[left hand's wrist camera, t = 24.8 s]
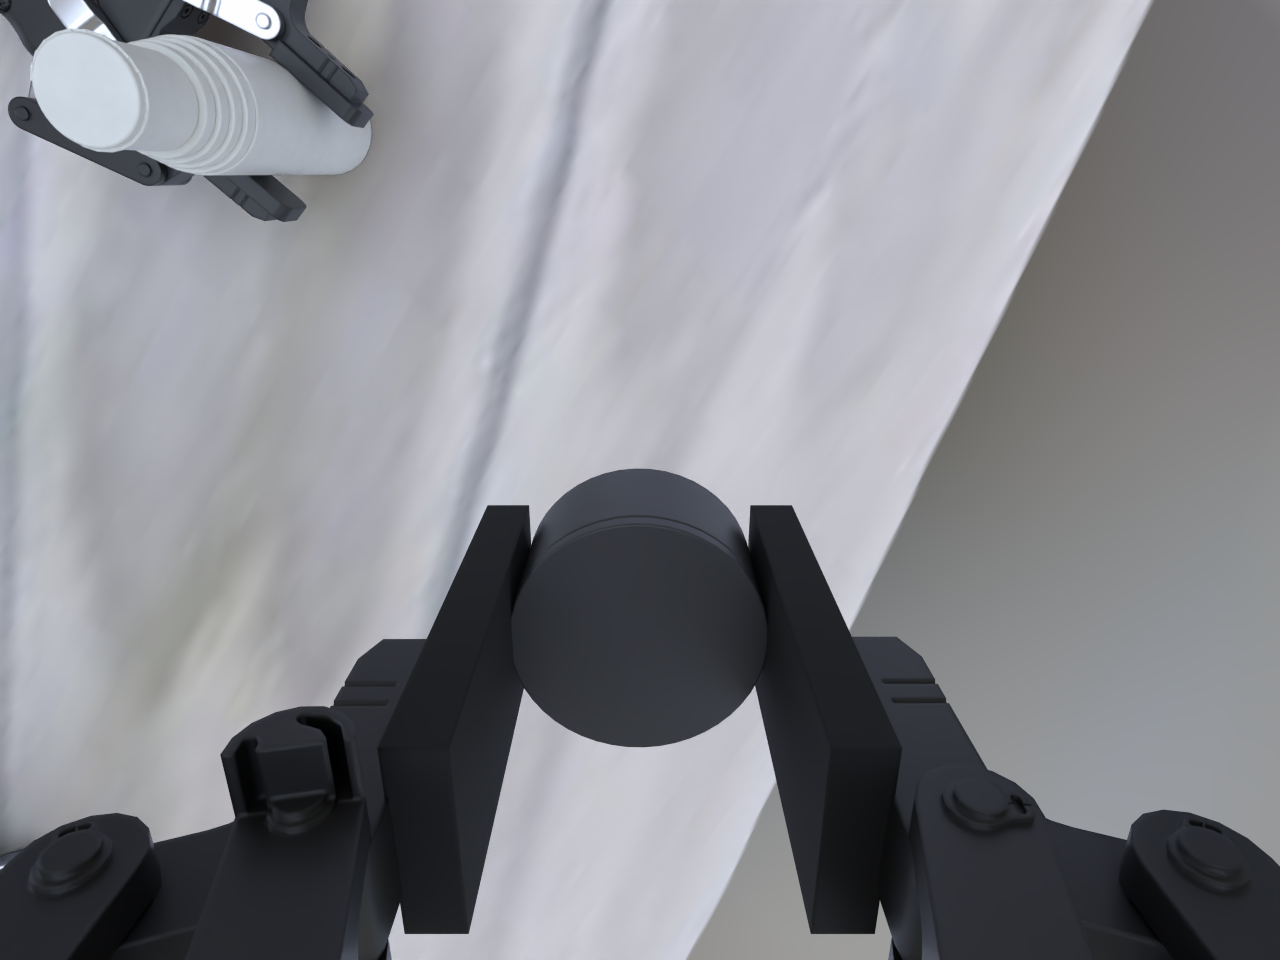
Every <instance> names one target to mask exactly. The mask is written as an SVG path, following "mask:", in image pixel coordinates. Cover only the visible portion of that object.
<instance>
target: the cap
mask: <svg viewBox="0 0 1280 960" xmlns="http://www.w3.org/2000/svg"><path fill="white" fill-rule="evenodd" d="M511 628H512V643H513V657H514V667H515V670H516V673H517V675H518V677H519V679H520V681H521V683H522V685H523V687H524V688H525V690H526V691H527V693H528V694H529V695H530V697H531V698H532V700H533V701H534V702H535V703H536V704H537V705H538V706H539V707H540V708H541V709H542V710H543V711H544V712H545V713H546V714H547V715H549V716H550V717H551V718H552V719H553V720H555V721H556V722H558V723H559V724H561V725H562V726H564V727H565V728H567V729H569V730H571V731H573V732H575V733H577V734H579V735H581V736H584V737H586V738H589V739H592V740H595V741H598V742H602V743H606V744H611V745H617V746H625V747H652V746H662V745H667V744H672V743H676V742H680V741H683V740H686V739H689V738H692V737H694V736H697V735H699V734H701V733H703V732H705V731H707V730H709V729H711V728H712V727H714V726H716V725H718V724H719V723H720V722H722V721H723V720H724V719H726V718H727V717H728V716H730V715H731V714H732V713H733V712H734V711H735V710H736V709H737V708H738V707H739V706H740V705H741V704H742V703H743V701H744V700H745V699H746V698H747V696H748V695H749V694H750V692H751V691H752V689H753V687H754V686H755V684H756V682H757V681H758V679H759V676H760V674H761V671H762V669H763V667H764V663H765V659H766V652H767V638H768V621H767V616H766V611H765V607H764V603H763V600H762V596H761V593H760V589H759V585H758V582H757V578H756V575H755V571H754V567H753V564H752V560H751V557H750V553H749V549H748V546H747V542H746V540H745V537H744V534H743V532H742V529H741V527H740V526H739V524H738V522H737V520H736V518H735V517H734V516H733V514H732V513H731V512H730V510H729V509H728V508H727V507H726V506H725V505H724V504H723V503H722V502H721V500H720V499H719V498H718V497H716V496H715V495H714V494H712V493H711V492H710V491H709V490H707V489H706V488H704V487H702V486H701V485H699V484H697V483H696V482H694V481H692V480H689V479H687V478H685V477H682V476H680V475H676V474H673V473H669V472H666V471H660V470H653V469H626V470H618V471H613V472H609V473H605V474H602V475H599V476H596V477H594V478H591V479H589V480H587V481H585V482H583V483H581V484H579V485H577V486H576V487H574V488H573V489H571V490H570V491H568V492H567V493H566V494H565V495H563V496H562V497H561V498H560V499H559V500H558V501H557V502H556V503H555V504H554V505H553V506H552V507H551V509H550V510H549V511H548V512H547V513H546V515H545V516H544V518H543V520H542V521H541V523H540V525H539V527H538V529H537V531H536V533H535V536H534V538H533V541H532V545H531V548H530V551H529V555H528V558H527V561H526V565H525V568H524V571H523V575H522V578H521V581H520V584H519V588H518V591H517V594H516V598H515V601H514V604H513V608H512V612H511Z"/></svg>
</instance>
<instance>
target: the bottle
mask: <svg viewBox="0 0 1280 960" xmlns="http://www.w3.org/2000/svg"><path fill="white" fill-rule="evenodd" d="M30 80H31V81H32V83H33V89H34V93H35V97H36V99H37V102H38V104H39V106H40V108H41V110H42V112H43V113H44V115H45V116H46V118H47V119H48V120H49V122H50V123H51V124H52V125H53V126H54V127H55V128H56V129H57V130H58V131H59V132H60V133H62V134H63V135H64V136H66V137H67V138H68V139H70V140H72V141H74V142H76V143H78V144H80V145H81V146H82V147H85V148H88V149H91V150H94V151H97V152H117V151H121V150H136V151H138V152H140V153H141V154H144V155H146V156H148V157H150V158H152V159H155V160H157V161H159V162H161V163H163V164H165V165H167V166H169V167H171V168H174V169H176V170H179V171H183V172H188V173H192V174H196V175H337V174H343V173H346V172H348V171H350V170H352V169H354V168H355V167H357V166H358V165H359V164H360V163H361V162H362V160H363V159H364V158H365V156H366V154H367V152H368V150H369V147H370V143H371V123H370V120H369V121H368V123H367V124H366V126H365V127H364V128H359V127H353V126H351V125H349V124H348V123H346V122H345V121H344V120H342V119H341V118H340V117H339V116H338V115H336V114H335V113H334V112H333V111H332V110H331V109H330V108H329V107H327V106H326V105H325V104H324V103H323V102H322V101H321V100H320V99H318V98H317V97H316V96H315V95H314V94H313V93H312V92H311V91H309V90H308V89H307V88H306V87H305V86H304V85H303V84H302V83H300V82H299V81H298V80H297V79H296V78H295V77H294V76H293V75H292V74H291V73H290V72H289V71H287V70H286V69H285V68H284V67H282V66H281V65H280V64H279V63H278V62H276V61H273V60H270V59H266V58H263V57H260V56H257V55H253V54H250V53H247V52H244V51H240V50H237V49H234V48H231V47H227V46H224V45H221V44H218V43H214V42H211V41H208V40H205V39H201V38H198V37H194V36H188V35H175V34H170V35H160V36H156V37H152V38H148V39H142V40H138V41H133V42H129V43H124V42H120V41H116V40H112V39H110V38H108V37H106V36H105V35H102V34H99V33H96V32H94V31H91V30H87V29H75V28H69V29H65V30H62V31H58V32H55V33H53V34H52V35H51V36H49V37H48V38H46V39H44V40H43V42H42V43H41V44H40V46H39V47H38V49H37V50H35V53H34V57H33V60H32V63H31V64H30Z"/></svg>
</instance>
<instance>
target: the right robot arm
mask: <svg viewBox="0 0 1280 960" xmlns="http://www.w3.org/2000/svg"><path fill="white" fill-rule="evenodd" d="M307 1H308V0H0V13H1V14H2V15H3V16H4V17H5V18H6V19H7V20H8V21H9V22H10V23H11V25H12V26H13V27H14V29H15V30H16V32H17V34H18V35H19V37H20V39H21V41H22V43H23V45H24V46H25V48H26V49H27V50H28V52H29V53H30V54H31V55H32V56H33V57H34V53H35V50H37V49H38V47H39V46H40V44H41V43H42V42H43V40H44V39H46V38H48V37H49V36H51V35H52V34H53V33H55V32H58V31H62V30H65V29H69V28H75V29H87V30H91V31H94V32H96V33H99V34H102V35H105V36H106V37H108V38H110V39H112V40H116V41H120V42H124V43H129V42H133V41H138V40H142V39H148V38H152V37H156V36H160V35H170V34H175V35H188V36H192V35H193V34H195V33H196V32H197V31H198V30H199V29H201V28H202V27H203V26H204V24H205V23H206V21H207V20H208V18H209V16H210V15H211V14H213V15H215V16H217V17H219V18H221V19H223V20H225V21H227V22H229V23H231V24H233V25H235V26H237V27H239V28H241V29H243V30H245V31H247V32H249V33H251V34H253V35H255V36H257V37H259V38H261V39H262V40H263V41H264V42H265V43H266V44H267V45H269V46H270V47H271V48H272V49H273V50H272V51H271V53H270V54H269V55H270V56H271V57H272V58H273V59H275V60H276V61H277V62H278V63H279V64H280V65H281V66H282V67H284V68H285V69H286V70H287V71H289V72H290V73H291V74H292V75H293V76H294V77H295V78H296V79H297V80H298V81H299V82H300V83H302V84H303V85H304V86H305V87H306V88H307V89H308V90H309V91H311V92H312V93H313V94H314V95H315V96H316V97H317V98H318V99H320V100H321V101H322V102H323V103H324V104H325V105H326V106H327V107H329V108H330V109H331V110H332V111H333V112H334V113H335V114H336V115H338V116H339V117H340V118H341V119H342V120H344V121H345V122H346V123H348V124H349V125H351V126H353V127H359V128H364V127H365V126H366V124H367V123H368V121H369V120H370V119H371V117H372V116H373V113H372V112H371V111H370V109H368V108H367V107H366V106H365V105H364V104H363V101H364V100H365V99H366V97H367V96H368V92H367V90H366V89H365V87H364V85H363V83H362V81H361V80H360V79H358V78H357V77H356V76H355V75H354V74H353V73H352V72H351V71H349V70H348V68H346V67H345V66H344V65H343V64H342V63H341V62H340V61H339V60H338V59H337V58H335V57H334V56H333V55H332V54H331V53H330V52H329V51H328V50H327V49H326V48H324V47H323V46H322V45H321V44H320V43H319V42H318V41H317V40H316V39H315V38H313V37H312V35H311V34H310V33H309V31H308V30H307V27H306V24H305V10H306V6H307ZM8 113H9V116H10V118H11V120H12V121H13V123H14V124H15V125H16V126H18V127H19V128H21V129H23V130H25V131H27V132H29V133H32V134H34V135H36V136H38V137H40V138H42V139H45V140H47V141H49V142H51V143H53V144H56V145H58V146H60V147H62V148H64V149H66V150H69V151H71V152H73V153H75V154H77V155H80V156H82V157H84V158H86V159H88V160H90V161H93V162H95V163H97V164H99V165H101V166H104V167H106V168H108V169H110V170H112V171H114V172H117V173H119V174H121V175H123V176H125V177H128V178H130V179H132V180H134V181H136V182H138V183H141V184H143V185H146V186H160V185H184V184H187V183H188V182H189V181H190V180H191V178H192V176H194V175H195V174H192V173H188V172H183V171H179V170H176V169H174V168H171V167H169V166H167V165H165V164H163V163H161V162H159V161H157V160H155V159H152V158H150V157H148V156H146V155H144V154H141V153H140V152H138V151H136V150H121V151H117V152H97V151H94V150H91V149H88V148H85V147H82V146H81V145H80V144H78V143H76V142H74V141H72V140H70V139H68V138H67V137H66V136H64V135H63V134H62V133H60V132H59V131H58V130H57V129H56V128H55V127H54V126H53V125H52V124H51V123H50V122H49V120H48V119H47V118H46V116H45V115H44V113H43V112H42V110H41V108H40V106H39V104H38V102H37V99H36V97H35V93H34V89H33V83H32V81H31V85H30V91H29V96H28V98H27V97H15V98H13V99H12V100H11V101H10V103H9V105H8ZM203 176H204V177H205V178H206V179H208V180H209V181H210V182H211V183H212V184H214V185H215V186H216V187H217V188H218V189H220V190H221V191H222V192H223V193H225V194H226V195H227V196H228V197H229V198H231V199H232V200H233V201H234V202H235V203H237V204H238V205H239V206H241V208H243V209H244V210H245V211H246V212H247V213H249V214H250V215H251V216H253V217H255V218H258V219H261V220H264V221H269V220H277V219H278V220H280V221H283V222H287V221H294V220H297V219H298V218H299V217H300V215H301V214H302V212H303V211H304V210H305V208H306V205H305V204H304V202H303V201H302V200H300V199H299V198H298V197H297V196H296V195H295V194H293V193H292V192H291V191H290V190H289V189H287V188H286V187H285V186H284V185H283V184H282V183H280V182H279V181H278V180H277V179H276V178H275V177H273V176H272V175H203Z"/></svg>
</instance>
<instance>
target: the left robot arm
mask: <svg viewBox="0 0 1280 960" xmlns="http://www.w3.org/2000/svg"><path fill="white" fill-rule="evenodd" d="M530 548H531V534H530V516H529V505H488V506H487V508H486V510H485V512H484V515H483V517H482V519H481V521H480V523H479V526H478V528H477V530H476V532H475V534H474V537H473V539H472V541H471V543H470V545H469V548H468V550H467V552H466V554H465V556H464V559H463V561H462V563H461V565H460V567H459V570H458V572H457V574H456V576H455V578H454V580H453V583H452V585H451V587H450V589H449V591H448V594H447V596H446V598H445V600H444V602H443V605H442V607H441V609H440V611H439V613H438V616H437V618H436V620H435V622H434V624H433V627H432V629H431V631H430V633H429V635H428V638H427V639H383V640H382V641H380V642H379V643H378V644H377V645H375V646H374V647H373V648H372V649H370V650H369V651H368V652H366V653H365V654H364V655H363V656H361V657H360V658H359V659H358V660H357V662H356V664H355V665H354V667H353V669H352V671H351V672H350V674H349V676H348V677H347V679H346V681H345V686H344V687H342V688H341V690H340V691H339V693H338V695H337V696H336V698H335V700H334V705H333V706H331V707H330V708H328V707H324V706H312V707H297V708H292V709H288V710H284V711H279V712H275V713H273V714H271V715H269V716H267V717H264V718H262V719H260V720H258V721H255V722H253V723H251V724H250V725H249V726H247V727H246V728H245V729H243V730H242V731H241V732H239V733H238V734H237V735H235V736H234V737H233V738H232V739H231V740H230V742H229V743H228V745H227V746H226V747H225V749H224V750H223V752H222V753H221V759H222V763H223V768H224V772H225V776H226V780H227V784H228V788H229V793H230V797H231V801H232V805H233V809H234V813H235V820H234V822H231V823H229V824H226V825H223V826H220V827H217V828H214V829H210V830H207V831H203V832H199V833H194V834H190V835H186V836H182V837H178V838H173V839H169V840H165V841H161V842H157V843H153V841H152V838H151V834H150V831H149V828H148V827H147V826H146V825H145V824H144V823H143V822H142V821H141V820H140V819H139V818H138V817H134V816H129V815H124V814H119V813H113V814H104V815H95V816H89V817H86V818H83V819H80V820H77V821H74V822H72V823H69V824H66V825H63V826H60V827H59V828H57V829H55V830H53V831H51V832H50V833H48V834H46V835H44V836H42V837H40V838H39V839H37V840H35V841H33V842H32V843H31V844H30V845H28V846H27V847H26V848H25V849H24V850H22V851H18V852H13V853H10V854H6V855H4V856H1V857H0V960H391V953H390V946H389V940H388V937H389V934H390V931H391V928H392V925H393V922H394V919H395V916H396V913H397V910H398V907H399V904H400V905H401V912H402V918H403V925H404V932H405V934H469V930H470V925H471V921H472V916H473V912H474V908H475V903H476V899H477V894H478V890H479V885H480V881H481V876H482V872H483V867H484V863H485V859H486V854H487V850H488V845H489V841H490V836H491V832H492V827H493V823H494V818H495V814H496V809H497V805H498V801H499V796H500V792H501V787H502V783H503V778H504V774H505V769H506V765H507V760H508V756H509V752H510V747H511V743H512V738H513V734H514V729H515V725H516V720H517V716H518V711H519V707H520V702H521V698H522V694H523V689H524V687H523V685H522V683H521V681H520V679H519V677H518V675H517V673H516V670H515V667H514V657H513V643H512V628H511V612H512V608H513V604H514V601H515V598H516V594H517V591H518V588H519V584H520V581H521V578H522V575H523V571H524V568H525V565H526V561H527V558H528V555H529V551H530ZM748 549H749V553H750V557H751V560H752V564H753V567H754V571H755V575H756V578H757V582H758V585H759V589H760V593H761V596H762V600H763V603H764V607H765V611H766V616H767V621H768V638H767V652H766V659H765V663H764V667H763V669H762V671H761V674H760V676H759V679H758V681H757V682H756V684H755V687H756V691H757V696H758V700H759V705H760V709H761V714H762V718H763V722H764V727H765V731H766V736H767V740H768V745H769V749H770V754H771V758H772V763H773V767H774V771H775V776H776V780H777V785H778V789H779V794H780V798H781V803H782V807H783V812H784V816H785V821H786V825H787V829H788V834H789V838H790V843H791V847H792V852H793V856H794V861H795V865H796V870H797V874H798V879H799V883H800V887H801V892H802V896H803V901H804V905H805V910H806V914H807V919H808V923H809V928H810V932H811V934H875V928H876V922H877V915H878V908H879V901H881V904H882V908H883V911H884V914H885V917H886V920H887V923H888V926H889V929H890V932H891V935H892V940H891V947H890V953H889V959H888V960H1280V866H1279V865H1278V864H1277V863H1276V862H1275V861H1274V860H1273V859H1272V858H1271V857H1270V856H1268V855H1267V854H1266V853H1265V852H1264V851H1262V850H1261V849H1260V848H1259V847H1257V846H1256V845H1255V844H1254V843H1253V842H1251V841H1250V840H1249V839H1248V838H1246V837H1244V836H1243V835H1241V834H1239V833H1237V832H1235V831H1233V830H1232V829H1230V828H1228V827H1226V826H1224V825H1222V824H1221V823H1219V822H1216V821H1213V820H1210V819H1207V818H1204V817H1201V816H1198V815H1195V814H1192V813H1188V812H1179V811H1170V810H1160V811H1155V812H1150V813H1145V814H1142V815H1141V816H1140V817H1139V818H1138V819H1137V820H1136V821H1135V822H1134V823H1133V824H1132V825H1131V828H1130V832H1129V835H1128V839H1127V840H1124V839H1120V838H1116V837H1111V836H1107V835H1103V834H1099V833H1095V832H1090V831H1086V830H1082V829H1078V828H1073V827H1070V826H1067V825H1064V824H1060V823H1057V822H1054V821H1051V820H1049V819H1047V818H1045V816H1044V814H1043V813H1042V811H1041V810H1040V808H1039V806H1038V805H1037V803H1036V801H1035V800H1034V798H1032V797H1031V796H1030V795H1029V794H1028V793H1027V792H1025V791H1024V790H1023V789H1022V788H1021V787H1020V786H1018V785H1017V784H1016V783H1015V782H1013V781H1011V780H1009V779H1007V778H1005V777H1003V776H1001V775H999V774H997V773H995V772H993V771H990V770H987V768H986V766H985V765H984V763H983V761H982V759H981V758H980V756H979V754H978V753H977V751H976V749H975V747H974V746H973V744H972V742H971V741H970V739H969V737H968V735H967V734H966V732H965V730H964V728H963V727H962V725H961V723H960V722H959V720H958V718H957V716H956V715H955V713H954V711H953V710H952V708H951V706H950V704H949V703H946V698H945V696H944V694H943V692H942V691H941V689H940V687H939V685H938V684H935V679H934V677H933V675H932V674H931V672H930V670H929V668H928V667H927V665H926V663H925V661H924V660H923V658H922V656H920V655H919V654H918V653H916V652H915V651H914V650H913V649H911V648H910V647H909V646H907V645H906V644H905V643H904V642H902V641H901V640H900V639H899V638H897V637H852V636H851V634H850V632H849V630H848V628H847V626H846V623H845V621H844V619H843V617H842V615H841V612H840V610H839V608H838V606H837V604H836V601H835V599H834V597H833V595H832V593H831V590H830V588H829V586H828V584H827V582H826V579H825V577H824V575H823V573H822V571H821V568H820V566H819V564H818V562H817V560H816V557H815V555H814V553H813V551H812V549H811V546H810V544H809V542H808V540H807V538H806V535H805V533H804V531H803V529H802V527H801V525H800V522H799V520H798V518H797V516H796V514H795V511H794V509H793V507H792V505H751V507H750V525H749V543H748Z"/></svg>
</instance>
